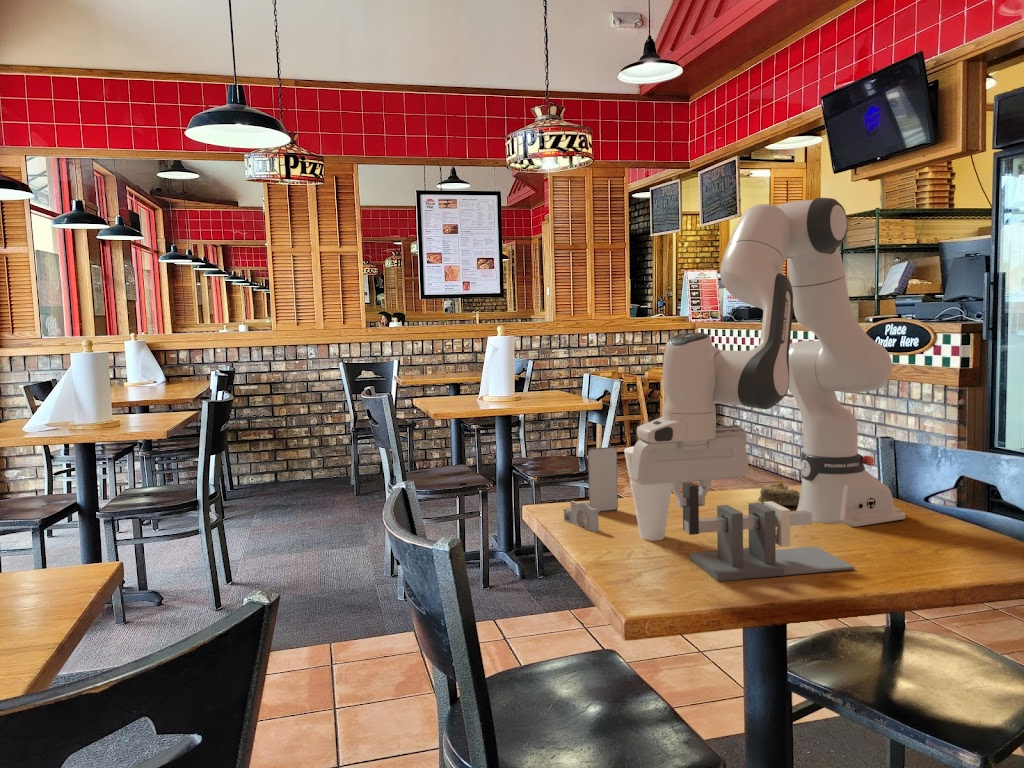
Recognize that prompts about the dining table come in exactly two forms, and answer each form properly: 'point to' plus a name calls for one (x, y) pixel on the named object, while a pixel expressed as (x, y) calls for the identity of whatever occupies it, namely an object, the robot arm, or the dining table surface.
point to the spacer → (781, 523)
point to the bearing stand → (732, 555)
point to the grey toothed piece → (582, 510)
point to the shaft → (715, 524)
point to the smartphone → (603, 479)
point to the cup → (649, 504)
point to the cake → (779, 494)
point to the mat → (808, 561)
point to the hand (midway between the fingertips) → (690, 506)
